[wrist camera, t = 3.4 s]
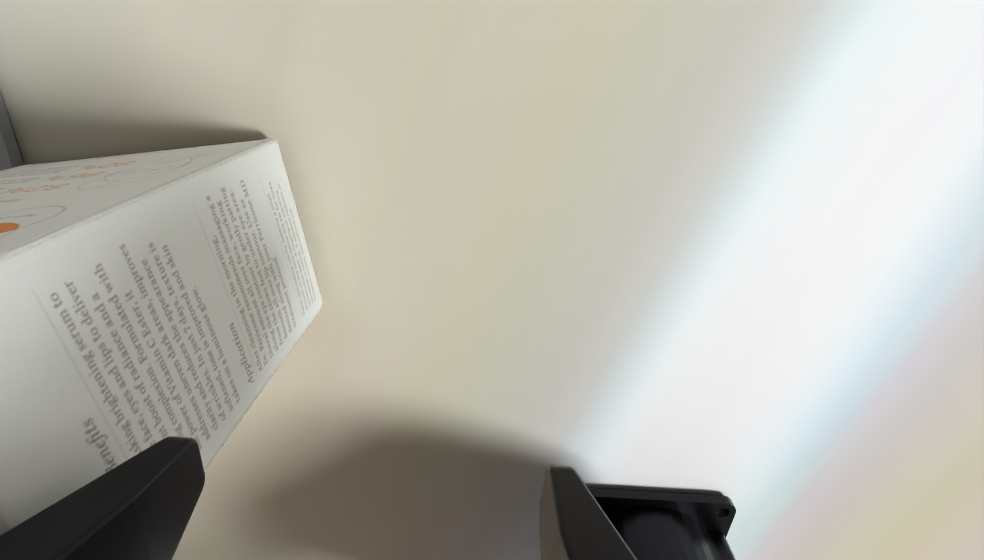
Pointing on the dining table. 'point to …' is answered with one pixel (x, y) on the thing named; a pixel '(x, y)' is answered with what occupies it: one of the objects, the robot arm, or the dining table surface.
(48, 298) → the small box
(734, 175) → the dining table surface
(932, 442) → the dining table surface
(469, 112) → the dining table surface
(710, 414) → the dining table surface
